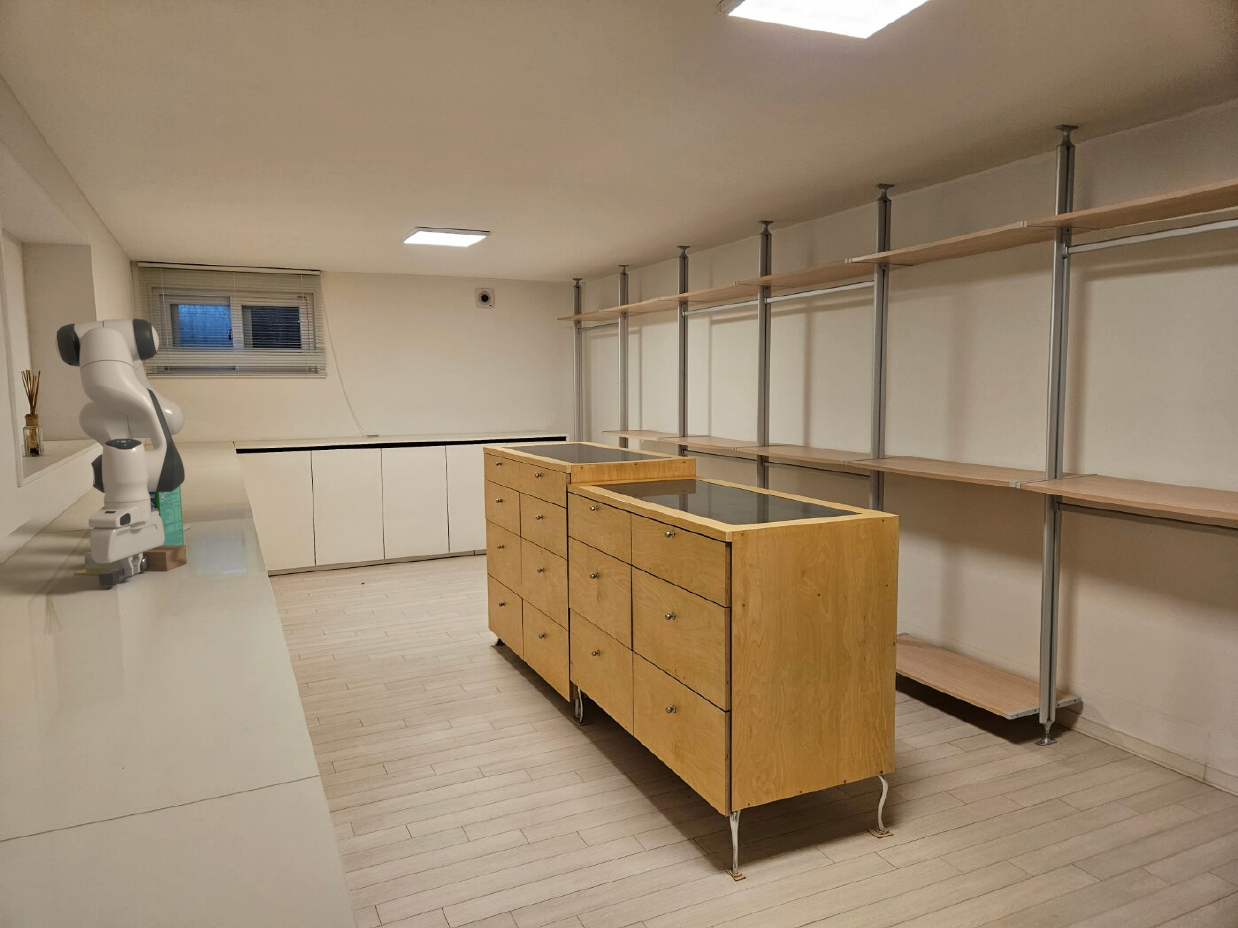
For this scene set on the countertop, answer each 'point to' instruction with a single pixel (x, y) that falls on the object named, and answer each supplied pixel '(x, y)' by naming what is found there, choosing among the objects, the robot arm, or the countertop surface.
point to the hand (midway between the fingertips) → (132, 574)
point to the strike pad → (92, 571)
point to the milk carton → (169, 514)
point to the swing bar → (119, 573)
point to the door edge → (149, 559)
